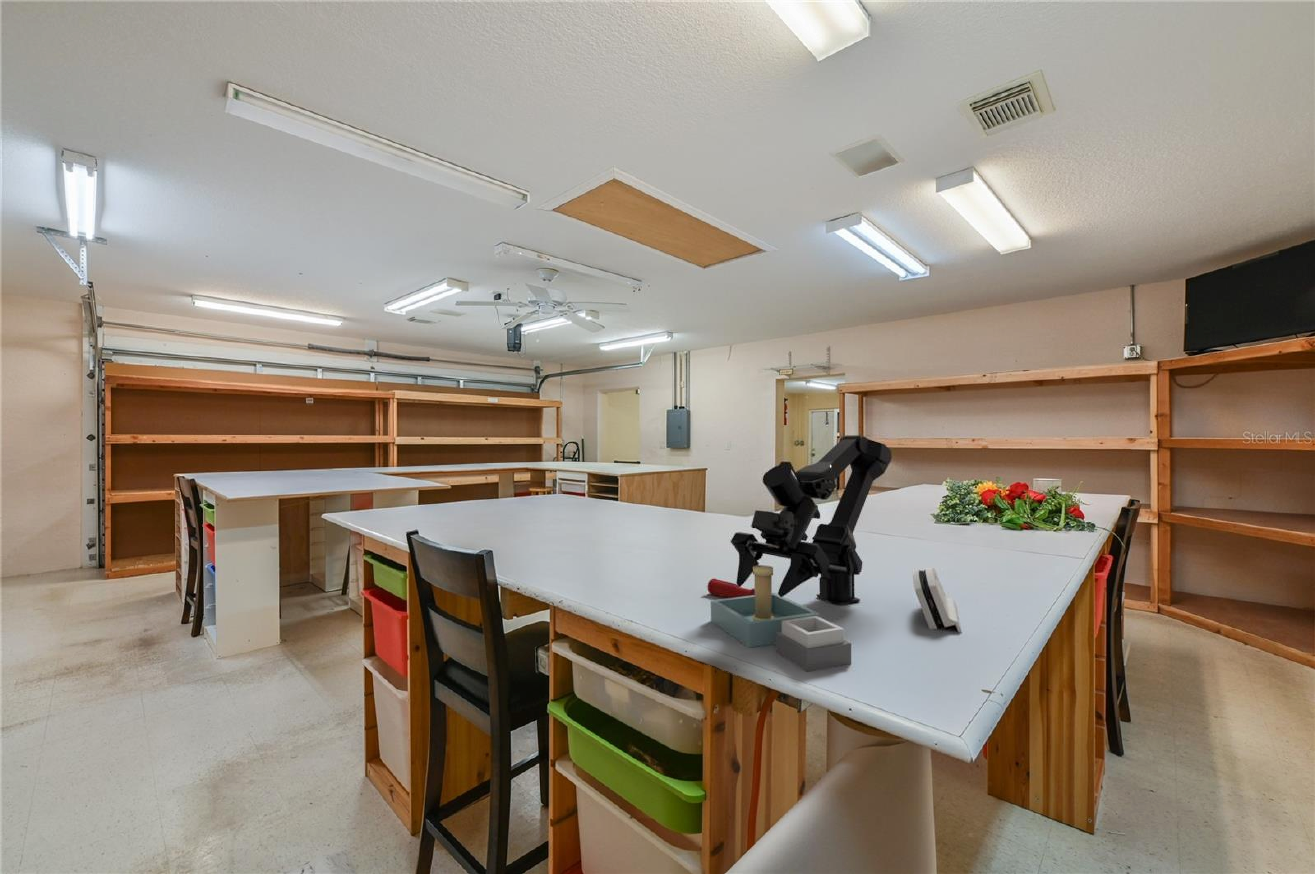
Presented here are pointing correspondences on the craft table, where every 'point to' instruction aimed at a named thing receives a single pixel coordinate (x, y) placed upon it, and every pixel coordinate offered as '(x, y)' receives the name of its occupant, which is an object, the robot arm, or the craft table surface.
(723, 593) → the red tapered rod
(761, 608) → the cylinder
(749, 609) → the parts tray
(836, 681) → the craft table surface
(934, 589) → the whiteboard eraser
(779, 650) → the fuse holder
